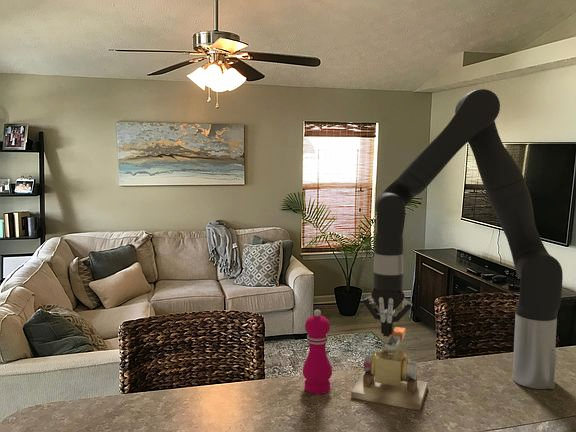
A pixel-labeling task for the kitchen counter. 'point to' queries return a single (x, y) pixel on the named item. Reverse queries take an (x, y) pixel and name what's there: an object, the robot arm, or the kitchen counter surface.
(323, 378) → the pepper mill
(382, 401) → the board
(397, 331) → the lever
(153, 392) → the kitchen counter surface
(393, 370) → the ball valve
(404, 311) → the robot arm
